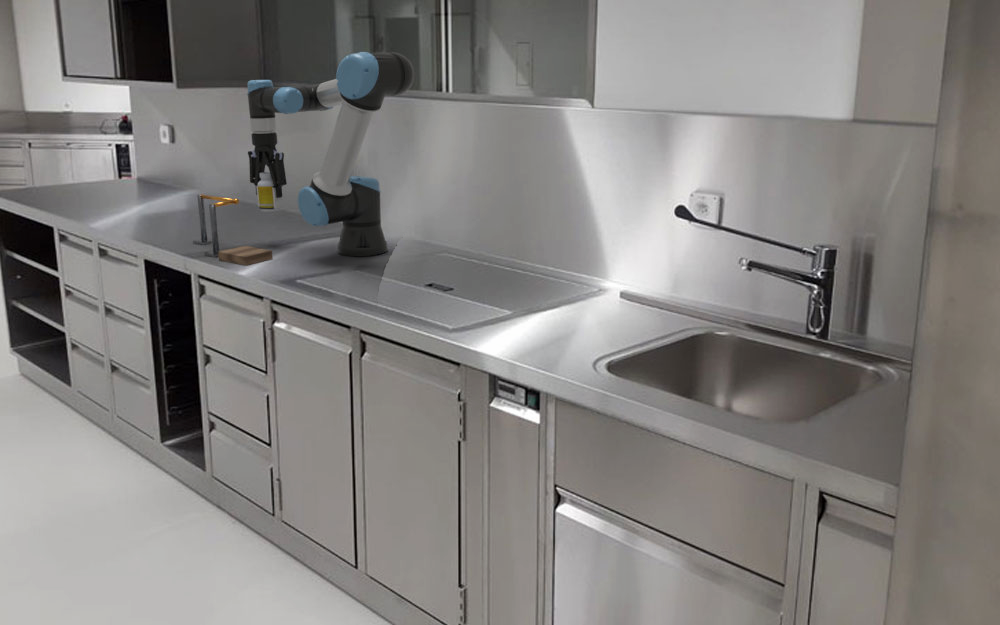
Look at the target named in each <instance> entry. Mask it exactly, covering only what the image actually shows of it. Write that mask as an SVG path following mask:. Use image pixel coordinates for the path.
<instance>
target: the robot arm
mask: <svg viewBox="0 0 1000 625" xmlns="http://www.w3.org/2000/svg"><path fill="white" fill-rule="evenodd" d="M335 74H336V75H335V78H334V79H332V80H331V79H330V80H327V81H325V82H322V83H318V84H313V85H299V86H280V87H279V86H278V87H277V86H274V83H273V81H272V80H271V79H255V80H254V79H251V80H249V81H248V82H247V94H246V95H247V102H248V109H249V122H250V131H251V132H252V133H251V145H252V146H254V150H250V151H247V155H248V160H249V162H248V164H249V182H250V183H251V184H253V185H254V186H255V194H256V196H257V207H258V208H260V207H259V195H258V182H259V181H261V178H260V173H262V172H266V171H265V170H266V167H268V172H270V174H271V178H272V181H273V184H274V186H272V187H273V188H272V190H273V203H274V209H277V208H283V201H282V198H283V187H284V186H287V184H288V183H287V178H286V177H287V176H286V169H285V163H284V160H285V154H284V153H285V152H279V151H278V150H277V148H276V147H277V145H278V133H276V132H275V131H277V122H276V114H283V115H288V114H289V115H290V114H291V115H293V114H296V113H303V112H304V113H305V112H315V111H320V112H322V111H328V110H332V109H333V108H335V107H336V106H340V105H341V106H340V110H339V113H338V115H337V119H336V121H335V126H334V129H333V131H332V135H331V137H330V141H329V144H328V147H327V150H326V153H325V156H324V158H323V162H322V165H321V168H320V171H318V172H315V173H314V174H313V175H312V179H311V182H310V185H309V186H304V187H303V188H301V189H300V190H299V191H298V194H297V207H298V209H299V212H300V214H301V217H302V218H303V219H304V221H305V222H307V224H309V225H310V226H313V227H321V226H322V227H325V226H327V225H332V224H338V223H342V229H341V233H340V237H339V242H338V243H337V253H339V254H340V255H343V256H349V257H350V256H351V257H371V255H372V256H378V255H377V254H379V255H382V254H384V252H385V253H386V251H387V252H388V242H387V240H386V238H385V235H384V231H383V228H382V221H381V220H382V219H381V218H382V217H381V214H382V213H381V190H380V182H379V180H378V179H377V178H375V177H371V176H361V175H353V171H354V168H355V165H356V163H357V160H358V157H359V155H360V152H361V148H362V145H363V143H364V140H365V138H366V134H367V131H368V129H369V126H370V122H371V119H372V117H373V115H374V114H373V113H376V112H378V111H379V110H381V108H382V105H383V102H384V100H385V97H394V96H401V95H403V94H405V93H406V92H407V91H408V90H410V88H411V87H412V86H413V83H414V80H415V69H414V66H413V65H412V62H411V60H409V59H408V58H407V57H406V56H405V55H403V54H401V53H398V52H394V51H392V52H391V51H389V52H388V51H387V52H383V51H382V52H367V51H360V52H357V53H351V54H348V55H347V56H345V57H344V58H343V59H342V60H341V61H340V63H339V65H338V67H337V71H336V73H335ZM277 182H278V183H277ZM381 253H382V254H381Z"/></svg>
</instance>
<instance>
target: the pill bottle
mask: <svg viewBox="0 0 1000 625" xmlns="http://www.w3.org/2000/svg"><path fill="white" fill-rule="evenodd" d="M260 178H261V181H259V182H258V195H259V207H258V208H259V211H261V212H277V211H280V210H281V208H277V209H274V203H273V190H272V188H273V187H272V186H274V184H273V181H272V178H271V174H270V171H264V172H262V173H260ZM277 183H278V182H277Z"/></svg>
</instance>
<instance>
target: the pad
mask: <svg viewBox="0 0 1000 625" xmlns="http://www.w3.org/2000/svg"><path fill="white" fill-rule="evenodd" d="M218 256H219V257H218V260H219V261H221V262H222V261H223V262H228V263H233V264H237V265H242V266H249V265H253V264H258V263H262V262H266V261H269V260H273V250H270V249H266V248H259V247H254V246H248V245H242V246H237V247H233V248H228V249H224V250H222V251H219V252H218Z"/></svg>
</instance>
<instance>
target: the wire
mask: <svg viewBox="0 0 1000 625" xmlns="http://www.w3.org/2000/svg"><path fill="white" fill-rule="evenodd" d="M196 196H197V205H198V217H199V218H198V219H199V229H200V238H198V239H194V240H192V244H195V245H201V246H204V245H209V244H212V250H210V251H206V252H204V253H203V254H204V256H206V257H211V258H219V256H218V252H219V251H223V250H221V249H220V242H219V229H218V222H217V221H218V220H217V211H216V210H217V209H216V208H220V207H223V206H224V207H225V206H230V205H238V204H239V203H240V200H239V198H229V197H221V196H215V195H207V194H202V193H201V194H200V193H198V194H197V195H196ZM205 200H210V201H211V200H212V201H216V202H214V203H209V204H208V208H209V220H210V221H209V222H210V230H211V232H210V233H211V238H208V235H207V234H208V232H207V221H206V210H205Z"/></svg>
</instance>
